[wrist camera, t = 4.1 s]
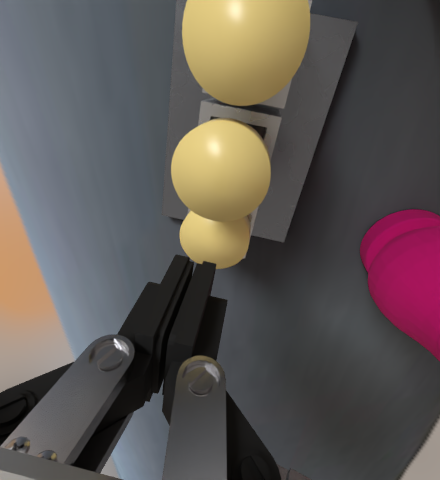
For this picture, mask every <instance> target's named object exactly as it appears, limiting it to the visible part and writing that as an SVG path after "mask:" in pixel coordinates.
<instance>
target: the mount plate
mask: <svg viewBox="0 0 440 480" xmlns="http://www.w3.org/2000/svg"><path fill="white" fill-rule="evenodd" d="M186 3H187V0H176V14H175V29H174V44H173V58H172V73H171V88H170V102H169V117H168V132H167V147H166V161H165V176H164V191H163V205H162V215H164V216H168V217H173V218H177V219H182V220H185V218H186V216H187V215H188V213H189V212H190V209H189V208H188V207H187V206H186V205H185V204H184V203H183V202H182V201H181V199H180V198H179V196H178V194H177V192H176V190H175V188H174V185H173V181H172V176H171V164H172V158H173V154H174V152H175V149H176V147H177V146H178V144H179V142H180V141H181V140H182V139H183V137H184V136H185V135H186V134H188V133H189V132H190V131H191V130H193V129H194V128H196V127H198V126H199V125H201V124H203V123H205V122H207V121H209V120H212V119H217V118H232V119H236V120H240V121H242V122H244V123H246V124H248V125H249V126H251V127H252V128H253V129H255V130H256V131H257V132H258V133H259V135H260V136H261V137H262V139H263V140H264V142H265V144H266V146H267V148H268V151H269V155H270V163H271V176H270V184H269V188H268V191H267V194H266V196H265V198H264V199H263V201H262V202H261V204H260V205H259V206H258V207H257V208H256V209H255V210H254V211H253V212H251V213H250V214H248V215H247V217H248V219H249V222H250V228H251V231H250V237H251V235H253V236H257V237H262V238H266V239H270V240H275V241H279V242H284V241H285V238H286V235H287V232H288V229H289V226H290V223H291V220H292V217H293V214H294V211H295V208H296V205H297V202H298V199H299V196H300V193H301V190H302V187H303V184H304V181H305V179H306V176H307V173H308V170H309V167H310V164H311V161H312V158H313V155H314V152H315V149H316V146H317V143H318V140H319V137H320V134H321V131H322V128H323V125H324V122H325V119H326V116H327V113H328V110H329V107H330V104H331V101H332V98H333V95H334V93H335V90H336V87H337V84H338V81H339V78H340V75H341V72H342V69H343V66H344V63H345V60H346V57H347V54H348V51H349V48H350V45H351V42H352V39H353V36H354V33H355V30H356V27H357V24H358V22H355V21H350V20H344V19H339V18H333V17H328V16H322V15H317V14H311V13H310V33H309V40H308V44H307V49H306V52H305V55H304V58H303V60H302V62H301V64H300V66H299V68H298V70H297V71H296V73H295V75H294V76H293V77H292V79H291V80H290V81H289V83H288V84H287V85H286V86H285V87H284V88H283V89H282V90H281V91H279V92H278V93H277V94H276V95H274V96H273V97H271V98H269V99H267V100H265V101H263V102H261V103H258V104H254V105H248V106H236V105H230V104H227V103H224V102H222V101H219V100H217V99H216V98H214V97H212V96H211V95H210V94H209V93H207V92H206V91H205V90H204V89H203V88H202V87H201V86H200V84H199V83H198V82H197V80H196V79H195V77H194V76H193V74H192V72H191V70H190V68H189V65H188V63H187V60H186V56H185V53H184V47H183V39H182V23H183V16H184V10H185V6H186ZM308 3H309V10H310V8H311V4H312V0H308ZM249 241H250V240H249ZM245 256H246V254H245ZM245 256H244V257H243V258H244V259H245Z"/></svg>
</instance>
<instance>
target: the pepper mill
mask: <svg viewBox="0 0 440 480" xmlns="http://www.w3.org/2000/svg"><path fill="white" fill-rule="evenodd" d="M360 256H361V260H362V262H363V264H364V266H365V268H366V270H367V272H368V287H369V291H370V294H371V296H372V298H373V300H374V301H375V303H376V305H377V306H378V308H379V309H380V311H381V312H382V313H383V314H384V315H385V317H386V318H388V319H389V320H390V321H391V322H392V323H393V324H394V325H395V326H396V327H397V328H398V329H400V330H401V331H403V332H404V333H405V334H407V335H408V336H410V337H411V338H413V339H414V340H416V341H417V342H418V343H420V344H421V345H422V346H423V347H425V348H426V349H427V350H428V351H430V352H431V353H432V354H433V355H434V356H435V357H436V358H437V359H438V360H439V361H440V216H438V215H437V214H435V213H432V212H430V211H425V210H417V209H410V210H403V211H399V212H395V213H392V214H390V215H388V216H386V217H384V218H382V219H380V220H379V221H377V222H376V223H375V224H374V225H373V226H372V227H371V228H370V229H369V230H368V231H367V233H366V234H365V236H364V238H363V240H362V242H361V246H360Z"/></svg>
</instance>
